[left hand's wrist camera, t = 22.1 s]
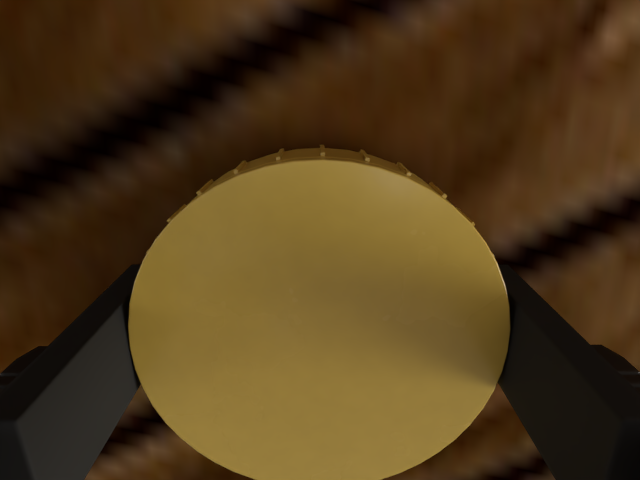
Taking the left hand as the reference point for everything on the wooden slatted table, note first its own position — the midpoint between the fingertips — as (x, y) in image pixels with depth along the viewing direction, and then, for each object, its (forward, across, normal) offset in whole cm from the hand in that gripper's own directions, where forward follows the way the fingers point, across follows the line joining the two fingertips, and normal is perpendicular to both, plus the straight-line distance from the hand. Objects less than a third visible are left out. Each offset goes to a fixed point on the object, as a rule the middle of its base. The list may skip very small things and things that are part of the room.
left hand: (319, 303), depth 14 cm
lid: (-2, 0, 0) cm, 2 cm away
